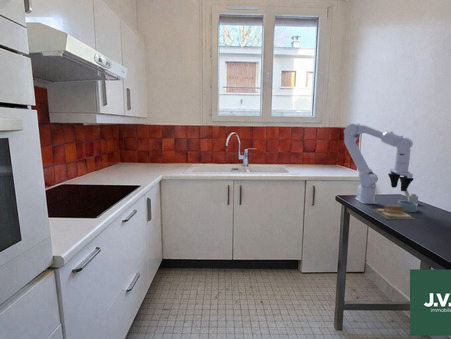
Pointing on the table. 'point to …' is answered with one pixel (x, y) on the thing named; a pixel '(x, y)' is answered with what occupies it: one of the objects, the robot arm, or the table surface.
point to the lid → (394, 211)
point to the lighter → (411, 197)
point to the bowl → (408, 205)
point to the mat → (391, 218)
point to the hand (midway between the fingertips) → (398, 189)
